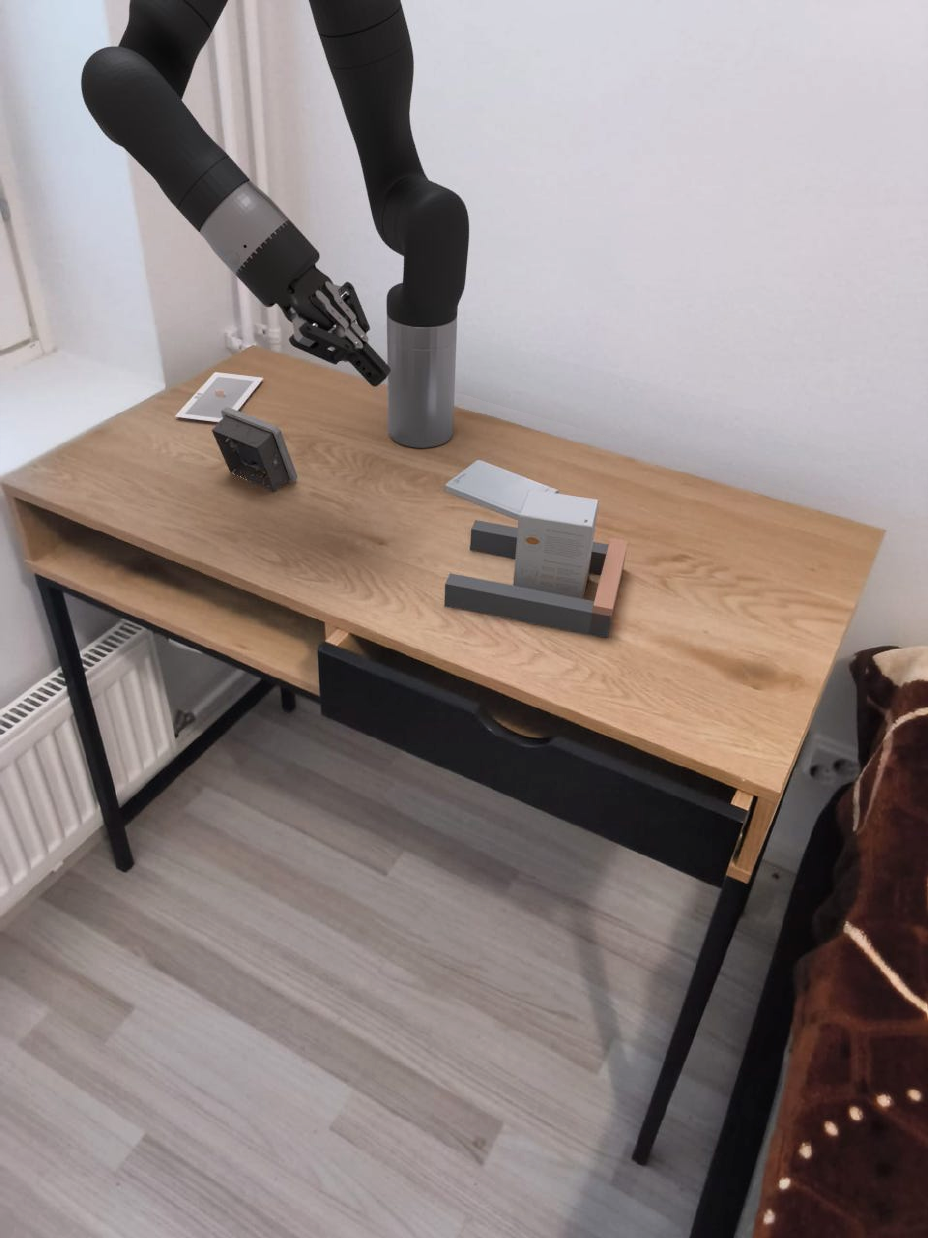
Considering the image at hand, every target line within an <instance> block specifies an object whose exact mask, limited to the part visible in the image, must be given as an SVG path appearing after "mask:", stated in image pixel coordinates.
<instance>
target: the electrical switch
mask: <svg viewBox="0 0 928 1238" xmlns="http://www.w3.org/2000/svg"><path fill="white" fill-rule="evenodd" d="M221 413H222V417H223V419H222V420H220V421H219V422H217V425H215V426H214V427H212V429H211V432H212V434H213V435H212V436H213V437H214V439H215V441H216V444H217V446H218V448H219V450H220V452H221V455H222V457H223V460H224V461H225V464H226V467H227V468H228V470H229V473H230V474H232V473H234V474H235V475H236V476H235V475H234V476H235V477H237V475H238V476H239V477H238V478H240V476H241V477H242V478H244V479H243V480H245V479H247V480H248V481H247V480H246V481H247V482H249V481H251V482H250V483H252V484H254V485H257V486H259V487H261V488H264V489H266V490H269V491H272V492H274V493H276V492H277V491H278V490H279V489H280V488H281V487H282V486H284V485H285V484H286V482H288V483H289V484H292V483H293V484H294V483H295V482H296V481H297V480H298V478H299V477H298V475H297V471H296V469H295V466H294V464H293V460H292V457H291V454H290V452H289V449H288V446H287V443H286V441H285V438H284V435H283V433H282V430H281V429H280V428H279V426H278V425H276V424H273V423H270V422H268V421H266V420H262V419H260V418H257V417H255V416H252V415H249V414H247V413H244V412H242V411H239V410H238V411H237V410H234V409H231V408H229V407H226V408H224V409H223V410H221ZM260 472H262V473H263V474H262V475H261V476H259V473H260ZM242 478H241V479H242Z"/></svg>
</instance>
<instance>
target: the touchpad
mask: <svg viewBox="0 0 928 1238" xmlns="http://www.w3.org/2000/svg"><path fill="white" fill-rule="evenodd" d="M263 380H264V377H261V376H260V377H258V376H250V375H243V374H235V373H226V372H216V371H214V373H213V374H212V375H211V376H210V377H209V378H208V379H207V380H206V382H205V383H203V385H202V386H200V388H199V389H198V390H197V391H196V392H195V393H194V395H193V396H192V397H191V398H190V399H189V400H188V401H187V402H186V404H184V405H183V407H182V408H181V409H180V410H179V411H178V412H177V414H175V415H174V418H175V417H176V418H183V419H188V420H189V419H191V420H196V421H197V420H199V421H207V422H215V423H219V421H220V420H222V419H223V417H222V413H221V410H223V409H224V408H226V407H229V408H231V409H234V410H237V411H239V410H240V409H241V407H242V406H243V404H244V403H246V401H247V399H248V398H249V397H250V396H251V395H252V394H253V392H254V391H255V389H256V388H257V387H258V386H259V385H260V383H261V382H262V381H263Z"/></svg>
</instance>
